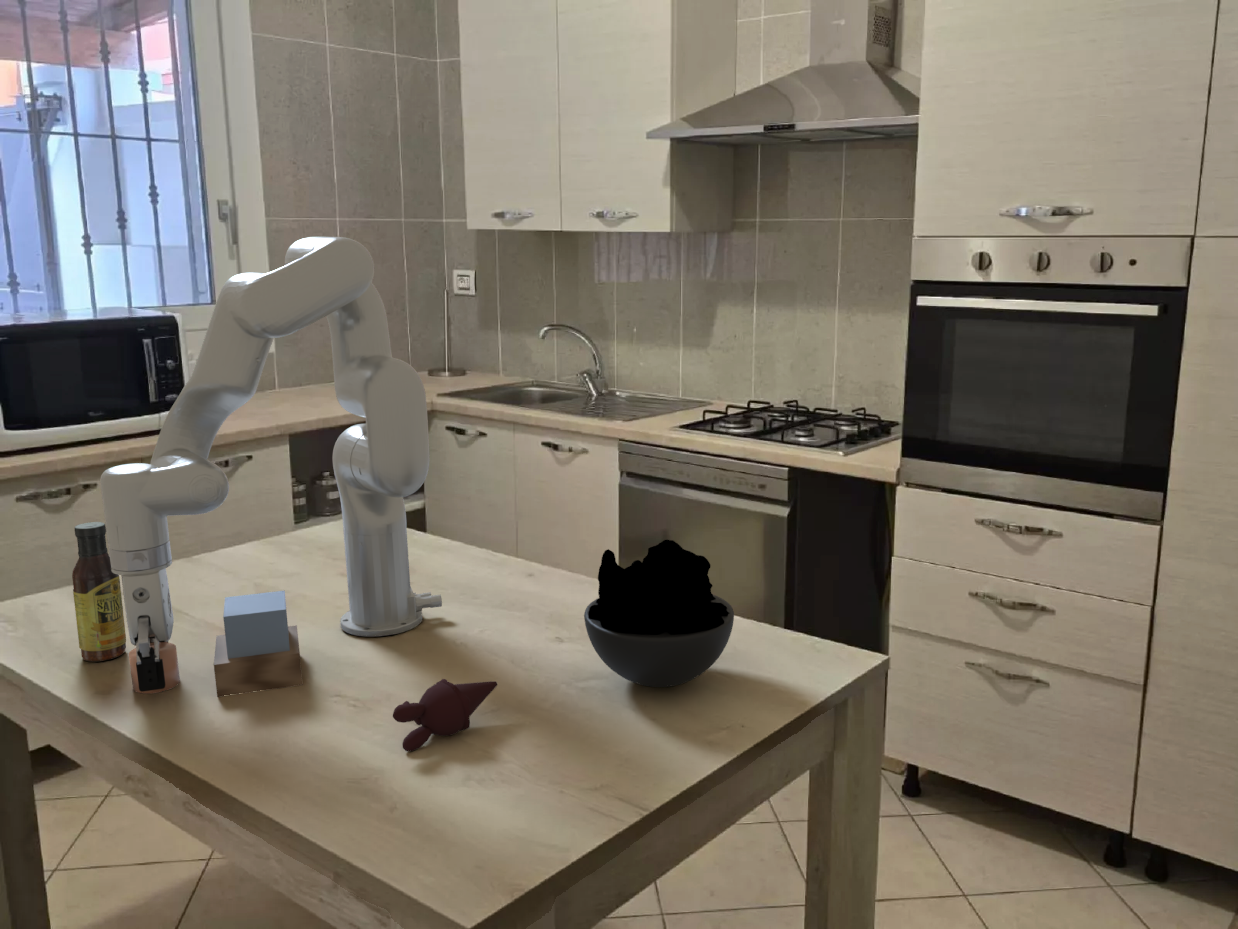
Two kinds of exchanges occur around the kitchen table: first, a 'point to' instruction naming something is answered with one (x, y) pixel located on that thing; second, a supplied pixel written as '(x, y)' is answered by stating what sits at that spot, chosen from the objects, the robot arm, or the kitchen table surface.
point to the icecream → (442, 710)
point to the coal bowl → (658, 617)
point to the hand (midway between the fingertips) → (155, 675)
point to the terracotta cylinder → (169, 665)
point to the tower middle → (256, 624)
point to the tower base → (257, 668)
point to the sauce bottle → (97, 597)
